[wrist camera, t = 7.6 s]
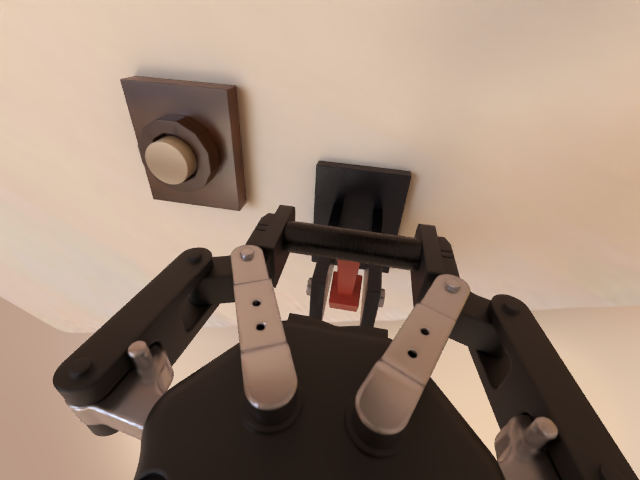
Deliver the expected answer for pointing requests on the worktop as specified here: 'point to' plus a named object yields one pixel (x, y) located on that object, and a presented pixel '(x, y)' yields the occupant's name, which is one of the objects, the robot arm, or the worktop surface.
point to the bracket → (356, 223)
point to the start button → (171, 159)
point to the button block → (191, 137)
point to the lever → (351, 255)
